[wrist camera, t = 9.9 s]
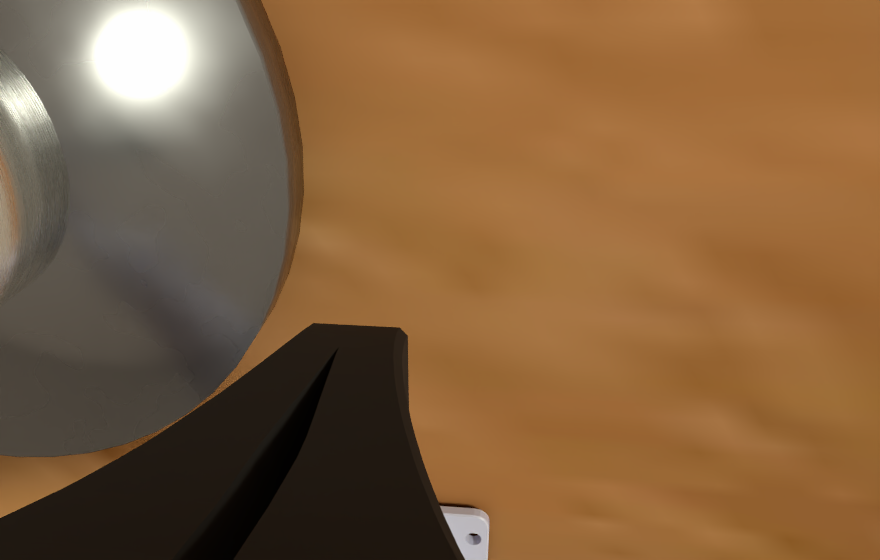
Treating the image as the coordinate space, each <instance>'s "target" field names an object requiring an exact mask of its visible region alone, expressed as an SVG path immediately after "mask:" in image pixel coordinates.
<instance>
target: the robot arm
mask: <svg viewBox="0 0 880 560" xmlns="http://www.w3.org/2000/svg"><path fill="white" fill-rule="evenodd" d="M470 533H475V534H478V535H477V536H472V535H469V534H470ZM488 541H489V517H488V515H487V514H486V513H485V512H484V511H482V510H480V509H475V508H462V507H448V506H440V505H439V503H438V500H437V498H436V495H435V493H434V491H433V488H432V485H431V483H430V480H429V477H428V475H427V472H426V469H425V466H424V463H423V460H422V457H421V454H420V450H419V447H418V444H417V441H416V437H415V434H414V430H413V426H412V422H411V418H410V413H409V393H408V336H407V335H406V334H405V333H404V332H403V331H402V330H401V329H400V328H395V327H376V326H357V325H338V324H318V323H313V324H312V325H310V326H309V327H307V328H306V329H304V330H303V331H302V332H300V333H299V334H298V335H296V336H295V337H294V338H292V339H291V340H290V341H288V342H287V343H286V344H285V345H283V346H282V347H281V348H279V349H278V350H277V351H275V352H274V353H273V354H272V355H270V356H269V357H268V358H266V359H265V360H264V361H263V362H261V363H260V364H259V365H257V366H256V367H255V368H253V369H252V370H251V371H249V372H248V373H246V374H245V375H244V376H242V377H241V378H240V379H238V380H237V381H236V382H234V383H233V384H232V385H230V386H229V387H228V388H226V389H225V390H224V391H222V392H221V393H220V394H218V395H217V396H215V397H214V398H212V399H211V400H209V401H208V402H206V403H205V404H203V405H202V406H200V407H199V408H197V409H196V410H194V411H193V412H191V413H190V414H188V415H187V416H185V417H184V418H182V419H181V420H179V421H178V422H176V423H175V424H173V425H172V426H171V427H169V428H168V429H166V430H165V431H163V432H162V433H160V434H159V435H157V436H155V437H154V438H152V439H150V440H149V441H147V442H146V443H144V444H142V445H141V446H139V447H137V448H136V449H134V450H132V451H130V452H129V453H127V454H125V455H124V456H122V457H120V458H118V459H117V460H115V461H113V462H111V463H109V464H108V465H106V466H104V467H102V468H100V469H98V470H97V471H95V472H93V473H91V474H89V475H88V476H86V477H84V478H82V479H80V480H78V481H77V482H75V483H73V484H71V485H69V486H67V487H65V488H63V489H61V490H59V491H57V492H55V493H53V494H50V495H48V496H46V497H44V498H42V499H40V500H38V501H36V502H34V503H31V504H29V505H27V506H25V507H23V508H21V509H19V510H17V511H14V512H12V513H10V514H8V515H6V516H4V517H2V518H0V560H488Z"/></svg>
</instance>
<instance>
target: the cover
mask: <svg viewBox="0 0 880 560" xmlns="http://www.w3.org/2000/svg"><path fill="white" fill-rule="evenodd" d="M69 209H70V187H69V179H68V173H67V166H66V162H65V158H64V154H63V151H62V147H61V144H60V141H59V138H58V136H57V133H56V131H55V128H54V126H53V123H52V121H51V119H50V117H49V115H48V113H47V111H46V109H45V108H44V106H43V104H42V102H41V100H40V98H39V96H38V95H37V93H36V92H35V91H34V89H33V88H32V86H31V85H30V83H29V82H28V80H27V79H26V77H25V76H24V74H23V73H22V72H21V71H20V69H19V68H18V67H17V66H16V65H15V63H14V62H13V61H12V60H11V59H10V57H9V56H8V55H7V54H6V53H5V52H4V51H3V50H2V49H1V48H0V306H1V305H3V304H4V303H5V302H7V301H8V300H10V299H11V298H12V297H14V296H15V295H16V294H18V293H19V292H21V291H22V290H23V289H25V288H26V287H27V286H29V285H30V284H32V283H33V282H34V281H35V280H36V279H37V278H38V277H39V276H40V275H41V274H42V273H44V272H45V270H46V269H47V268H48V266H49V265H50V264H51V262H52V261H53V259H54V258H55V256H56V254H57V252H58V250H59V248H60V246H61V244H62V242H63V238H64V235H65V231H66V228H67V224H68V216H69Z"/></svg>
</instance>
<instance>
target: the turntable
mask: <svg viewBox="0 0 880 560" xmlns="http://www.w3.org/2000/svg"><path fill="white" fill-rule="evenodd" d="M0 48H1V49H2V50H3V51H4V52H5V53H6V54H7V55H8V56H9V57H10V59H11V60H12V61H13V62H14V63H15V65H16V66H17V67H18V68H19V69H20V71H21V72H22V73H23V74H24V76H25V77H26V79H27V80H28V82H29V83H30V85H31V86H32V88H33V89H34V91H35V92H36V93H37V95H38V96H39V98H40V100H41V102H42V104H43V106H44V108H45V109H46V111H47V113H48V115H49V117H50V119H51V121H52V123H53V126H54V128H55V131H56V133H57V136H58V138H59V141H60V144H61V147H62V151H63V154H64V158H65V162H66V166H67V173H68V179H69V187H70V209H69V216H68V224H67V228H66V231H65V235H64V238H63V242H62V244H61V246H60V248H59V250H58V252H57V254H56V256H55V258H54V259H53V261H52V262H51V264H50V265H49V266H48V268H47V269H46V270H45V272H44V273H42V274H41V275H40V276H39V277H38V278H37V279H36V280H35V281H34V282H33V283H32V284H30V285H29V286H27V287H26V288H25V289H23V290H22V291H21V292H19V293H18V294H16V295H15V296H14V297H12V298H11V299H10V300H8V301H7V302H5V303H4V304H3V305H1V306H0V455H6V456H15V457H56V456H65V455H74V454H83V453H90V452H94V451H99V450H103V449H107V448H111V447H115V446H119V445H123V444H126V443H129V442H131V441H134V440H136V439H139V438H141V437H144V436H146V435H149V434H151V433H154V432H156V431H158V430H160V429H162V428H163V427H165V426H167V425H169V424H170V423H172V422H174V421H175V420H177V419H179V418H181V417H182V416H184V415H186V414H187V413H188V412H190V411H191V410H192V409H193V408H195V407H196V406H197V405H198V404H200V403H201V402H202V401H203V400H205V399H206V398H207V397H208V396H209V395H211V394H212V393H213V392H214V391H215V390H216V389H217V388H218V387H219V385H220V384H221V383H222V382H223V381H224V380H225V379H226V378H227V376H228V375H229V374H230V373H231V372H232V371H233V370H234V369H235V368H236V366H237V365H238V363H239V362H240V360H241V359H242V357H243V356H244V354H245V352H246V351H247V349H248V348H249V346H250V345H251V343H252V342H253V340H254V338H255V337H256V335H257V334H258V332H259V331H260V329H261V327H262V326H263V324H264V323H265V321H266V320H267V318H268V316H269V315H270V313H271V312H272V310H273V308H274V307H275V305H276V302H277V300H278V298H279V295H280V293H281V291H282V288H283V286H284V284H285V281H286V279H287V277H288V274H289V272H290V268H291V264H292V260H293V256H294V252H295V249H296V245H297V241H298V237H299V232H300V223H301V213H302V204H303V195H304V180H303V146H302V140H301V133H300V127H299V121H298V114H297V108H296V102H295V96H294V93H293V89H292V86H291V83H290V79H289V76H288V72H287V69H286V65H285V62H284V58H283V55H282V51H281V48H280V45H279V43H278V40H277V38H276V35H275V33H274V31H273V28H272V26H271V23H270V21H269V19H268V16H267V14H266V11H265V9H264V7H263V4H262V2H261V0H0Z"/></svg>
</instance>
